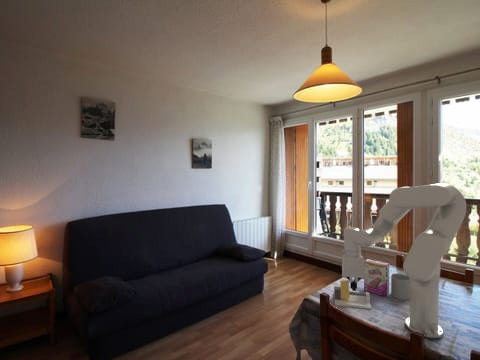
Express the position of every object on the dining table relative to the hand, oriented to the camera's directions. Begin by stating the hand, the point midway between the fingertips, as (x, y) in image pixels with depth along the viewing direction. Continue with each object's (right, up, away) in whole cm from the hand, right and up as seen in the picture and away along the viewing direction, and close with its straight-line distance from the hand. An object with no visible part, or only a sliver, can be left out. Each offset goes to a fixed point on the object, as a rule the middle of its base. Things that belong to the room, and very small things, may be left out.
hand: (353, 289), depth 125 cm
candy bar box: (+16, -6, +9) cm, 19 cm away
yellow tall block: (-4, -4, +1) cm, 6 cm away
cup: (+26, -6, +5) cm, 27 cm away
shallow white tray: (-1, -6, 0) cm, 6 cm away
